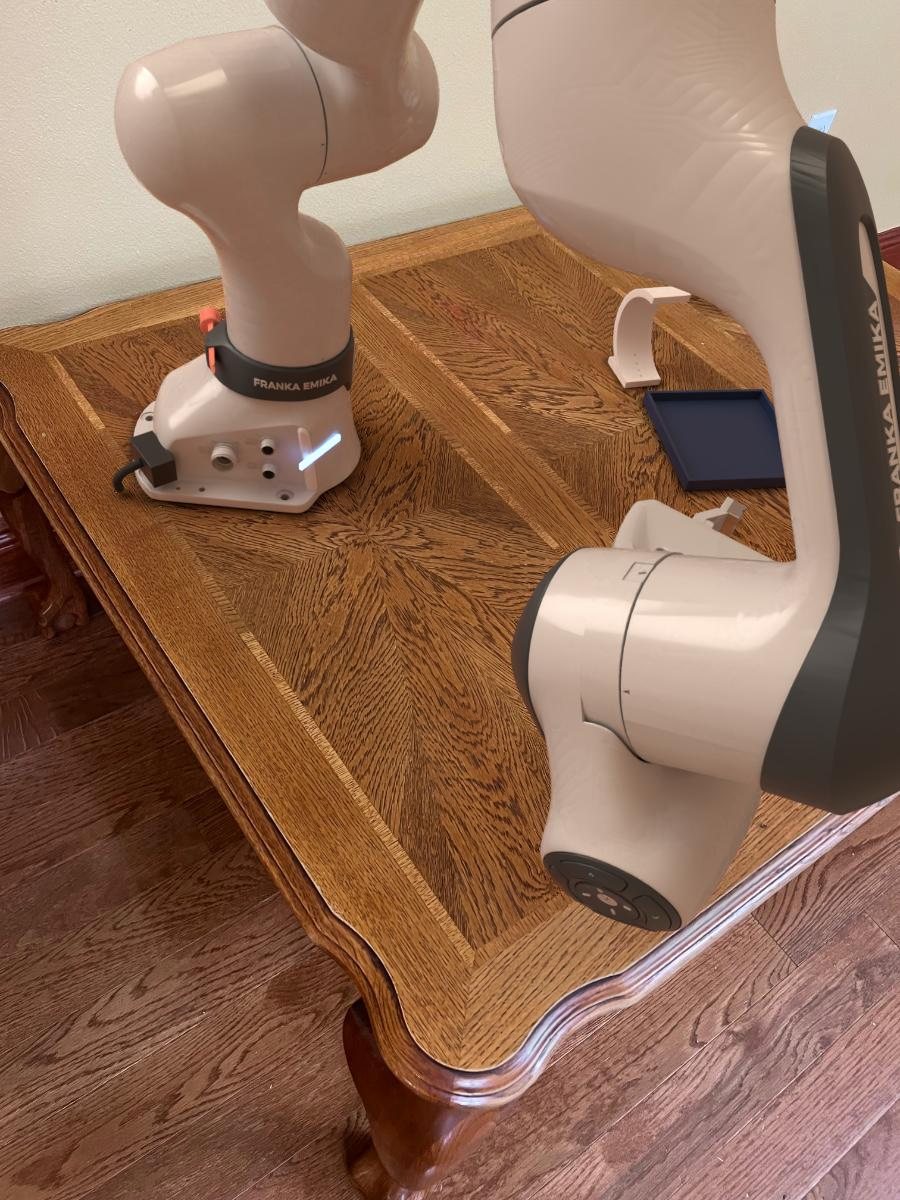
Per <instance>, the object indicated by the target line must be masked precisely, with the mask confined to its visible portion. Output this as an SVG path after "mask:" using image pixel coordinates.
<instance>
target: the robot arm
mask: <svg viewBox="0 0 900 1200" xmlns="http://www.w3.org/2000/svg"><path fill="white" fill-rule="evenodd" d="M263 2H264V3H265V5H266V7H267V9H268V10H269V11H270V13H271V14H272V15H273V17H274V18H275V19H276V20H277V21H278V22H276V23H275V24H269V25H267V26H264V27H256V28H251V29H243V30H236V31H230V32H223V33H218V34H216V33H215V34H210V35H203V36H196V37H188V38H186V39H185V38H184V39H183V40H180V41H178V42H175V43H173V44H170V45H168V46H165V47H162V48H160V49H158V50H155V51H153V52H151V53H149V54H146V55H144V56H142V57H140V58H138V59H136V60H133V61H132V62H130V63H128V65H126V67H125V68H124V70H123V72H122V74H121V76H120V79H119V82H118V85H117V87H116V92H115V98H114V105H113V106H114V108H113V122H114V130H115V135H116V139H117V144H118V147H119V149H120V152H121V155H122V157H123V159H124V162H125V163H126V165H127V167H128V169H129V170H130V172H131V173H132V175H133V177H134V178H135V179H136V180H137V181H138V183H139V184H140V185H141V186H142V187H143V188H144V189H145V191H146V192H147V193H148V194H149V195H151V196H152V197H153V198H154V199H155V200H157V201H159V202H160V203H162V204H163V205H164V206H166V207H167V208H170V209H172V210H174V211H176V212H178V213H180V214H181V215H183V216H185V217H187V218H188V219H189V220H190V221H192V222H193V223H195V225H197V227H198V228H199V229H200V230H201V231H202V232H203V233H204V234H205V236H206V237H207V238H208V241H209V242H210V244H211V246H212V248H213V250H214V252H215V255H216V258H217V262H218V266H219V273H220V276H221V277H220V278H221V283H222V292H223V299H224V309H225V318H224V319H223V320H222V318H223V317H222V316H223V315H222V314H221V311H219V309H218V308H217V307H213V306H206V307H204V308H202V309H201V311H199V318H198V319H199V321H200V322H199V330H200V331H201V333H203V335H204V351H205V352H203V353H202V354H200V355H198V356H197V357H195V358H193V359H191V360H190V361H188V362H186V363H184V364H183V365H181V366H179V367H177V368H175V369H173V370H171V371H170V372H169V373H168V374H167V375H166V376H165V377H164V379H163V380H162V382H161V384H160V386H159V389H158V392H157V395H156V399H155V400H153V401H151V403H149V404H148V406H146V407H145V408H144V410H143V411H142V412H141V414H140V416H139V418H138V419H137V422H136V424H135V427H134V431H133V436H131V437H129V438H128V441H129V442H128V443H129V447H130V452H131V453H130V454H131V458H132V461H131V462H129V463H127V464H126V465H124V466H122V467H120V468H119V469H118V470H116V472H115V473H114V475H113V476H112V485H113V488H114V492H116V493H123V492H124V490H125V486H124V483H123V480H124V479H125V478H126V477H127V476H129V475H131V474H132V473H134V474H135V478H136V480H137V483H138V484H139V486H140V488H141V489H142V491H143V492H144V493H145V494H146V495H147V496H148V497H149V498H150V499H153V500H157V501H166V502H176V503H187V504H197V505H207V506H217V507H228V508H239V509H248V510H249V509H250V510H260V511H269V512H278V513H279V512H280V513H290V514H301V513H304V512H306V511H308V510H309V509H310V508H311V507H312V506H313V505H314V503H315V502H316V501H317V500H318V499H319V497H320V496H321V495H322V494H324V493H325V492H326V491H329V490H330V489H332V488H334V487H336V486H337V485H339V484H342V482H344V481H345V480H346V479H347V478H348V477H349V476H350V475H351V474H352V473H353V472H354V471H355V469H356V468H357V466H358V464H359V461H360V458H361V452H362V449H361V448H362V446H361V441H360V438H359V435H358V433H357V429H356V428H357V427H356V425H355V420H354V415H353V408H352V400H351V390H352V385H353V378H354V377H355V365H356V340H355V335H354V329H353V326H352V324H351V320H352V319H351V318H352V297H353V296H352V295H353V280H354V279H353V276H354V266H353V261H352V258H351V255H350V251H349V250H348V248H347V246H346V244H345V242H344V241H343V239H342V238H341V236H340V235H339V234H338V233H337V232H336V231H335V230H334V229H333V228H332V227H330V226H329V225H327V224H326V223H325V222H323V221H321V220H319V219H317V218H315V217H313V216H311V215H309V214H307V213H304V212H300V211H299V203H300V199H301V197H302V195H303V193H304V192H305V191H306V190H309V189H311V188H315V187H320V186H324V185H327V184H331V183H336V182H340V181H344V180H348V179H352V178H356V177H361V176H364V175H369V174H373V173H377V172H378V171H381V170H383V169H386V167H389V166H392V165H393V164H395V163H397V162H399V161H402V159H404V158H406V157H408V156H410V155H411V154H413V153H415V152H416V151H418V150H420V149H421V148H423V147H424V146H425V145H426V144H427V143H428V141H429V140H430V138H431V136H432V134H433V133H434V129H435V127H436V124H437V120H438V116H439V110H440V102H441V101H440V100H441V93H440V91H441V90H440V81H439V76H438V75H439V74H438V72H437V71H438V70H437V68H436V64H435V61H434V59H433V57H432V54H431V53H430V50H429V49H428V47H427V45H426V43H425V42H424V40H423V38H422V37H421V36H420V34H418V32H417V31H416V30H415V26H416V22H417V19H418V16H419V14H420V11H421V9H422V7H423V4H424V2H425V0H263ZM489 3H490V5H489V6H490V37H491V63H492V87H493V89H492V91H493V92H492V93H493V107H494V108H493V109H494V116H495V117H494V119H495V128H496V134H497V141H498V145H499V150H500V154H501V160H502V163H503V167H504V170H505V173H506V177H507V179H508V183H509V184H510V186H511V188H512V190H513V191H514V193H515V194H516V196H517V198H518V199H519V201H520V202H521V203H522V205H523V207H524V208H525V209H526V210H527V212H528V213H529V214H530V215H531V217H532V218H533V219H534V220H535V221H536V222H537V223H538V224H539V225H540V226H541V227H542V228H543V229H544V230H545V231H547V232H548V233H549V234H550V235H551V236H552V237H554V238H555V239H556V240H558V241H559V242H561V243H562V244H563V245H564V246H566V247H568V248H570V249H571V250H572V251H574V252H576V253H578V254H580V255H582V256H583V257H586V258H588V259H590V260H591V261H594V262H596V263H599V264H601V265H604V266H607V267H609V268H612V269H616V270H618V271H621V272H625V273H628V274H632V275H634V276H637V277H641V278H643V279H648V280H650V281H653V282H656V283H660V284H663V285H666V286H672V287H674V288H677V289H680V290H682V291H685V292H687V293H690V294H691V295H692V296H695V297H698V298H699V299H701V300H704V301H706V302H707V303H709V304H711V305H712V306H714V307H716V308H717V309H719V310H721V311H722V313H725V314H726V315H728V316H729V317H730V318H732V319H733V321H735V322H736V323H737V325H739V326H740V327H741V328H742V329H743V330H744V331H745V332H746V333H747V335H748V336H749V338H750V339H751V340H752V341H753V343H754V345H755V346H756V348H757V350H758V351H759V353H760V355H761V357H762V360H763V362H764V365H765V368H766V371H767V374H768V378H769V383H770V388H771V395H772V401H773V402H772V403H773V406H774V409H775V415H776V422H777V429H778V435H779V442H780V449H781V455H782V462H783V468H784V475H785V482H786V487H785V488H786V495H787V500H788V507H789V514H790V521H791V526H792V535H793V540H794V549H795V555H796V556H795V557H796V558H795V559H794V560H789V561H777V560H774V559H773V558H770V557H769V556H766V555H765V554H763V553H761V552H758V551H757V550H755V549H752V548H751V547H749V546H747V545H745V544H743V543H741V542H739V541H737V540H735V539H733V538H731V536H732V535H733V534H734V532H735V529H736V528H737V527H738V525H739V524H740V521H741V520H742V518H743V516H744V514H745V512H746V510H747V509H748V506H747V505H746V504H744V503H742V502H740V501H738V500H736V499H734V498H732V497H730V496H727V497H725V499H724V502H723V503H722V504H721V505H720V507H716V508H712V509H708V510H704V511H700V512H696V513H695V514H694V516H693V517H691V516H688V515H686V514H685V513H682V512H680V511H678V510H677V509H674V508H673V507H671V506H669V505H667V504H664V503H663V502H661V501H659V500H657V499H655V498H654V499H653V498H652V499H644V500H639V501H635V502H634V503H633V505H632V506H631V507H630V508H629V510H628V512H627V514H626V515H625V517H624V519H623V520H622V522H621V524H620V527H619V529H618V531H617V534H616V536H615V538H614V540H613V543H612V545H611V547H610V546H609V547H608V546H600V547H599V546H598V547H592V546H586V545H585V546H581V547H578V548H576V549H573V550H572V551H570V552H569V553H567V554H566V555H564V556H563V557H562V558H561V559H559V560H558V561H557V562H556V563H555V564H554V565H552V567H551V568H550V569H549V570H548V571H547V572H546V573H545V574H544V575H543V577H542V578H541V579H540V581H539V582H538V584H537V586H536V587H535V589H534V590H533V592H532V593H531V595H530V597H529V598H528V600H527V602H526V604H525V606H524V608H523V610H522V612H521V613H520V616H519V619H518V621H517V624H516V627H515V630H514V632H513V636H512V641H511V646H510V665H511V670H512V675H513V678H514V682H515V685H516V688H517V691H518V694H519V696H520V698H521V700H522V702H523V704H524V706H525V708H526V710H527V712H528V714H529V715H530V717H531V720H532V722H533V723H534V725H535V727H536V729H537V731H538V733H539V734H540V736H541V738H542V740H543V743H545V745H546V751H547V757H548V758H547V759H548V765H549V773H550V774H549V775H550V789H551V790H550V803H549V807H548V814H547V817H546V821H545V826H544V829H543V832H542V837H541V841H540V851H539V852H540V858H541V863H542V866H543V868H544V869H545V871H546V873H547V875H549V877H550V878H551V879H552V881H553V882H554V884H555V885H556V886H557V887H558V888H559V889H560V890H561V891H562V892H563V893H565V894H566V895H567V896H568V897H569V898H570V899H572V900H573V901H575V902H576V903H579V904H581V906H583V907H585V908H587V909H589V910H590V911H591V912H593V913H595V914H598V915H599V916H603V917H604V918H607V919H610V920H613V921H615V922H618V923H620V924H624V925H627V926H630V927H633V928H637V929H640V930H644V931H648V932H653V933H657V932H670V933H671V932H676V931H679V930H681V929H682V928H684V927H686V926H687V925H688V924H689V923H690V922H692V921H693V920H694V919H695V917H697V915H698V914H699V913H700V911H701V910H702V909H703V908H704V907H705V905H706V904H707V902H708V901H709V900H710V898H711V897H712V896H713V894H714V892H716V889H717V888H718V887H719V885H720V884H721V882H722V881H723V879H724V877H725V876H726V874H727V872H728V870H729V869H730V867H731V865H732V863H733V862H734V860H735V858H736V856H737V854H738V852H739V850H740V849H741V847H742V845H743V842H744V841H745V839H746V837H747V835H748V833H749V831H750V829H751V828H752V827H751V826H752V824H753V823H754V820H755V817H757V816H756V815H757V813H758V810H759V809H760V806H761V800H762V793H764V792H765V793H767V794H770V795H774V796H776V797H780V798H783V799H786V800H788V801H792V802H795V803H799V804H802V805H804V806H808V807H811V808H813V809H818V810H820V811H823V812H827V813H829V814H833V815H836V816H839V817H841V816H845V815H848V814H851V813H853V812H857V811H860V810H862V809H866V808H868V807H871V806H872V805H875V804H877V803H879V802H881V801H884V800H885V799H888V798H889V797H892V796H893V795H896V794H898V793H899V792H900V367H899V366H900V365H899V359H898V351H897V350H898V349H897V344H896V343H897V342H896V337H895V331H894V324H893V316H892V311H891V304H890V299H889V297H890V296H889V292H888V287H887V286H888V285H887V280H886V273H885V266H884V262H883V255H882V250H881V244H880V237H879V232H878V228H877V223H876V219H875V214H874V211H873V210H874V209H873V207H872V203H871V199H870V196H869V192H868V189H867V186H866V184H865V181H864V178H863V175H862V172H861V170H860V168H859V166H858V163H857V162H856V160H855V157H854V156H853V154H852V152H851V149H850V148H849V146H848V144H846V142H845V141H844V140H843V139H841V138H839V137H837V136H835V135H832V134H828V133H826V132H824V131H822V130H819V129H816V128H814V127H812V126H809V124H808V123H807V122H806V121H805V119H804V117H803V115H802V114H801V112H800V110H799V108H798V106H797V105H796V103H795V100H794V99H793V96H792V93H791V91H790V88H789V86H788V84H787V81H786V77H785V75H784V71H783V66H782V62H781V56H780V51H779V47H778V46H779V45H778V38H777V37H778V35H777V22H776V20H777V19H776V17H777V16H776V15H777V7H776V3H777V0H490V1H489Z"/></svg>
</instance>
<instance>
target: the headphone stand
mask: <svg viewBox="0 0 900 1200" xmlns="http://www.w3.org/2000/svg"><path fill="white" fill-rule="evenodd" d="M691 297H692V294H690V293H687V292H685V291H682V290H680V289H677V288H674V287H672V286H669V285H667V286H657V287H642V288H635V289H633V290H631V291H629V292H628V293H626V295H625V296H624V298H622V301H621V303H620V304H619V307H618V309H617V313H616V316H615V320H614V325H613V334H612V335H613V337H612V348H613V349H612V350H613V355H611V356H609V357H608V360H607V364H608V366H609V367H610V368H611V370H612V371H613V373H614V375H615V376H616V378H617V379H618V381H619V383H620V384H621V385H622V387H623V388H624V389H631V388H639V387H640V388H641V387H650V386H651V387H652V386H658V385H660V382H661V380H662V378H661V376H660V375H659V373H658V370H657V367H656V365H655V362H654V357H653V349H652V333H653V331H652V330H653V326H654V325H653V324H654V320H655V316H656V314H657V311H658V309H659V307H660V305H667V304H678V303H679V304H680V303H689V302H690V301H691Z"/></svg>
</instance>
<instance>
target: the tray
mask: <svg viewBox="0 0 900 1200" xmlns="http://www.w3.org/2000/svg"><path fill="white" fill-rule="evenodd" d="M642 403H643V406H644V408H645V410H646V412H647V414H648V416H649V419H650V421H651V422H652V423H651V424H652V425H653V427H654V429H655V432H656V434H657V435H658V438H659V440H660V442H661V443H662V446H663V449H664V450H665V453H666V455H667V457H668V459H669V461H670V464H671V466H672V468H673V469H674V472H675V474H676V476H677V478H678V480H679V483H680V485H681V487H682V489H683V492H692V491H693V492H694V491H695V492H697V491H717V490H721V491H722V490H746V489H747V490H748V489H771V488H786V482H785V475H784V468H783V462H782V455H781V449H780V442H779V435H778V429H777V422H776V415H775V409H774V403H773V402H772V400H771V399H770V398H769V395H768V394H767V392H766V391H765V389H764V388H751V389H750V388H749V389H748V388H745V389H742V388H741V389H740V388H737V389H736V388H735V389H683V390H682V389H680V390H679V389H674V390H670V389H669V390H645V393H644V396H643V398H642Z"/></svg>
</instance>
